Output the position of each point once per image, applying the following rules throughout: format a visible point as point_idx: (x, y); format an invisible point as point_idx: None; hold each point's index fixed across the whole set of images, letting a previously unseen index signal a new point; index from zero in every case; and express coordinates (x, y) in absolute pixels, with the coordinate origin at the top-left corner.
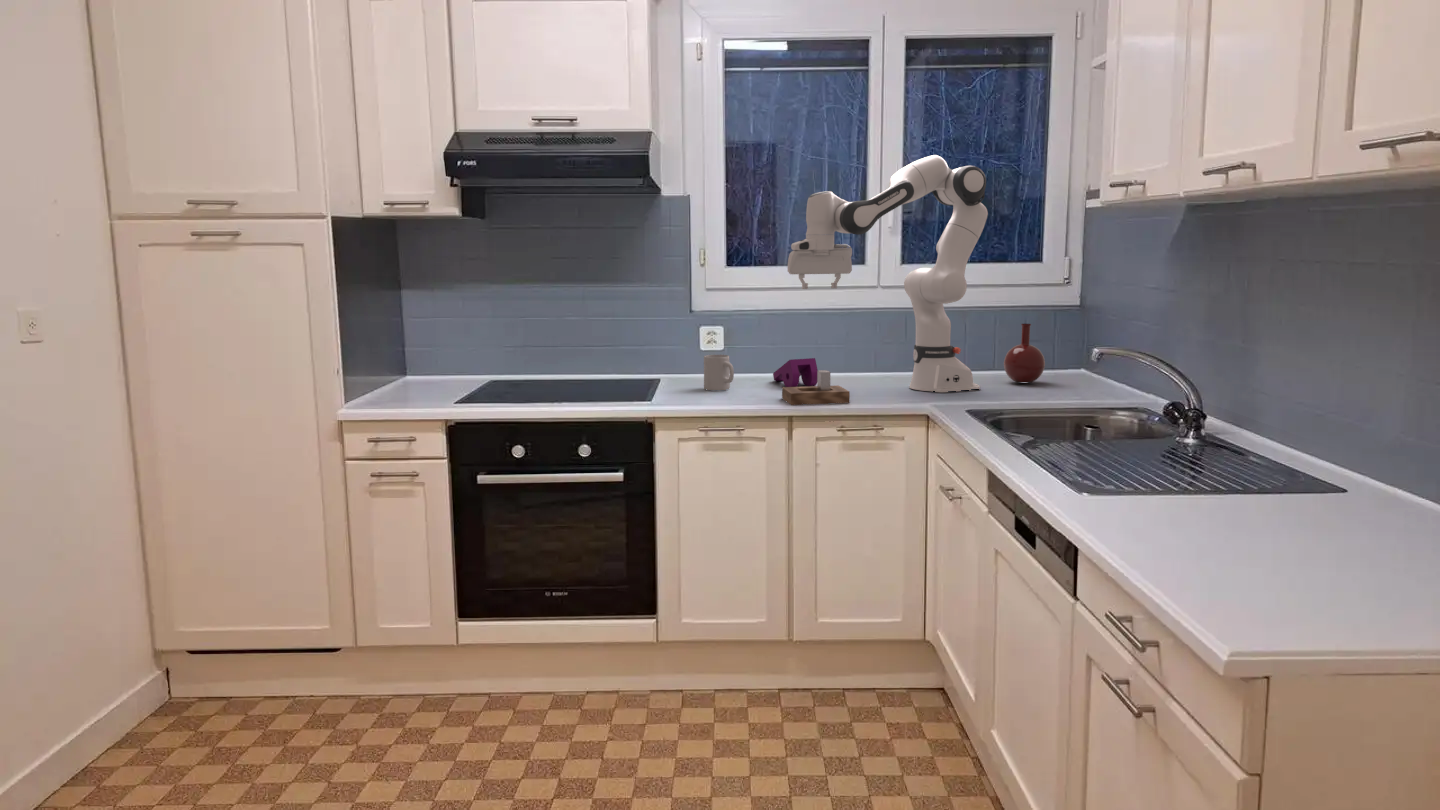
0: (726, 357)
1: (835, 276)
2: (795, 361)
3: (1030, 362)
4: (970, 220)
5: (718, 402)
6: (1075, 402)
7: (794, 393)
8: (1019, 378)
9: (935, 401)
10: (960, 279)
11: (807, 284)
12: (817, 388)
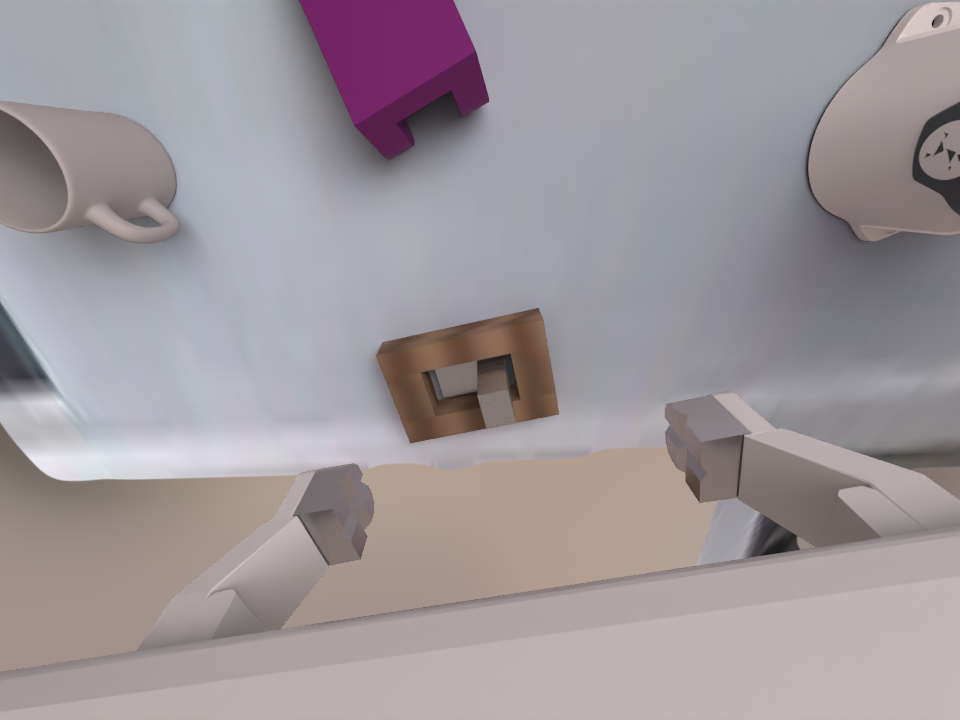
0: (72, 207)
1: (833, 544)
2: (383, 117)
3: None
4: None
5: (232, 398)
6: None
7: (418, 441)
8: None
9: (772, 372)
10: None
11: (358, 546)
12: (477, 369)
